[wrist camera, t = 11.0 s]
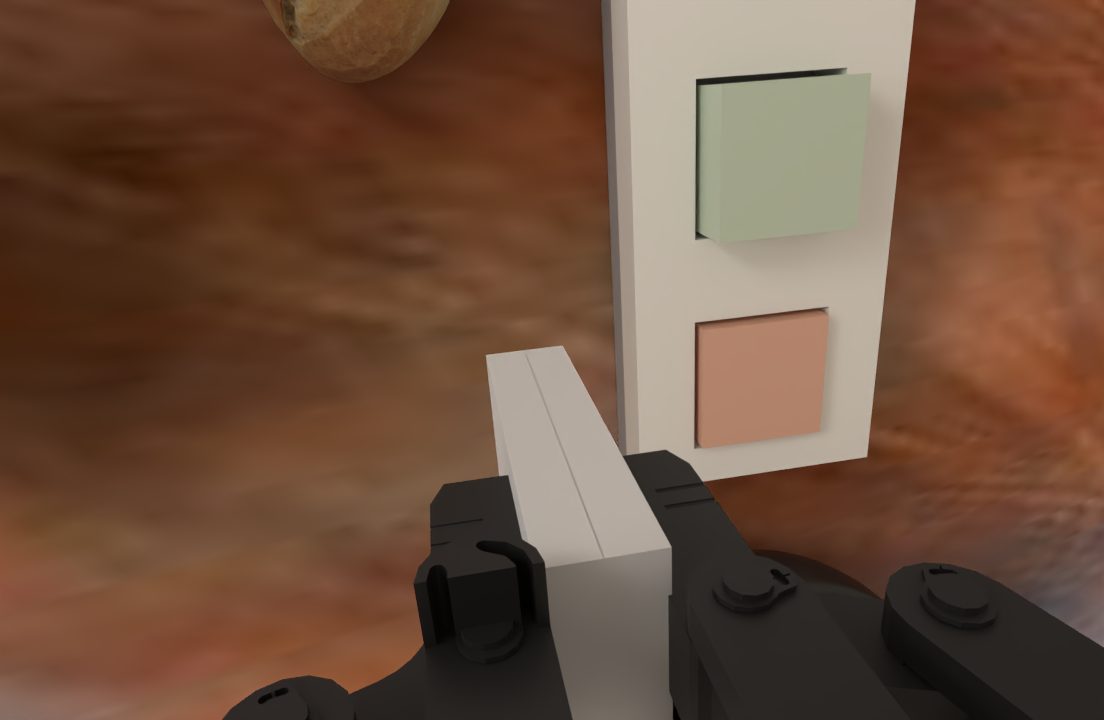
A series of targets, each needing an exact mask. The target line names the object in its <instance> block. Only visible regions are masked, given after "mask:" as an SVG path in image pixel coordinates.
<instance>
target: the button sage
mask: <svg viewBox="0 0 1104 720" xmlns="http://www.w3.org/2000/svg"><path fill="white" fill-rule="evenodd" d="M870 84H871V73H863V74H844V75H828V76H815V77H802V78H789V79H776V80H763V81H750V82H736V83H723V84H710V85H697V136H696V232H698V233H700V234H702V235H704V236H706V237H708V238H710V239H712V240H714V241H716V242H718V243H728V242H738V241H747V240H757V239H766V238H775V237H785V236H794V235H804V234H813V233H822V232H832V231H841V230H851V229H858V219H859V207H860V196H861V185H862V174H863V163H864V151H865V140H866V129H867V118H868V107H869V95H870Z"/></svg>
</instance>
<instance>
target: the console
mask: <svg viewBox="0 0 1104 720" xmlns="http://www.w3.org/2000/svg"><path fill="white" fill-rule="evenodd" d="M915 2H916V0H601V9H602V35H603V60H604V85H605V110H606V136H607V161H608V186H609V211H610V237H611V262H612V287H613V313H614V338H615V363H616V388H617V414H618V439H619V451H620V453H621V455H622V456H625V455H632V454H639V453H646V452H653V451H659V450H668V451H669V452H671V453H673V454H674V455H676V456H678V457H679V458H681V459H683V460H685V461H686V462H688V463H690V465H691V466H692V467H693V469H694V470H695V472H696V473H697V474H698V476H699V477H700V479H701V480H702V481H703V482H704V481H710V480H717V479H724V478H730V477H737V476H744V475H750V474H757V473H764V472H770V471H777V470H783V469H790V468H797V467H803V466H810V465H817V464H823V463H830V462H837V461H843V460H850V459H857V458H863V457H867V451H868V442H869V433H870V423H871V414H872V405H873V395H874V386H875V376H876V367H877V358H878V348H879V339H880V330H881V320H882V311H883V302H884V292H885V283H886V273H887V264H888V255H889V245H890V236H891V227H892V217H893V208H894V198H895V189H896V180H897V170H898V161H899V152H900V142H901V133H902V123H903V114H904V105H905V95H906V86H907V77H908V67H909V58H910V49H911V39H912V30H913V20H914V11H915ZM863 73H871V84H870V95H869V107H868V118H867V129H866V140H865V151H864V163H863V174H862V185H861V196H860V207H859V219H858V229H851V230H841V231H832V232H822V233H813V234H804V235H794V236H785V237H775V238H766V239H757V240H747V241H738V242H728V243H718V242H716V241H714V240H712V239H710V238H708V237H706V236H704V235H702V234H700V233H698V232H696V136H697V85H710V84H723V83H736V82H750V81H763V80H776V79H789V78H802V77H815V76H828V75H844V74H863ZM812 308H816V309H818V310H820V311H822V312H824V313H826V314H827V315H829V321H828V334H827V346H826V359H825V372H824V385H823V398H822V411H821V424H820V432H815V433H808V434H801V435H794V436H787V437H780V438H773V439H766V440H759V441H752V442H745V443H739V444H732V445H725V446H718V447H711V448H704V449H703V448H702V447H701V446H700V444H699V443H698V442H697V441H696V439H695V438H694V377H695V323H696V322H705V321H713V320H721V319H730V318H738V317H746V316H754V315H763V314H771V313H779V312H788V311H796V310H804V309H812Z"/></svg>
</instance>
